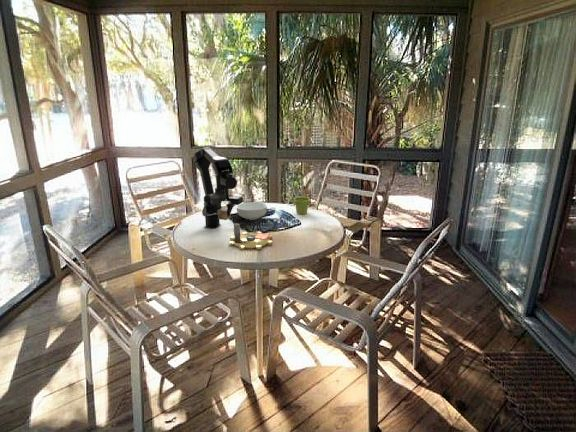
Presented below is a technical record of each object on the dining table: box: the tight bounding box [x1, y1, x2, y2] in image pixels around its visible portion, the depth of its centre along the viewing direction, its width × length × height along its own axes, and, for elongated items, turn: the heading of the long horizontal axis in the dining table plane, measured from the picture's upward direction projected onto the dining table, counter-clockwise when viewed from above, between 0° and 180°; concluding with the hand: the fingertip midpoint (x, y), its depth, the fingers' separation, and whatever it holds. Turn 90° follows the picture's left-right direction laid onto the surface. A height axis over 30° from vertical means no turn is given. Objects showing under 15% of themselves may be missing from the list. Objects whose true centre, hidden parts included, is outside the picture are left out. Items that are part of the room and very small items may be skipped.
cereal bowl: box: [236, 201, 268, 221], centre depth 220 cm, size 17×17×7 cm
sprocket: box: [228, 223, 273, 250], centre depth 184 cm, size 21×21×10 cm
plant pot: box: [293, 196, 311, 215], centre depth 227 cm, size 9×9×9 cm
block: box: [218, 207, 232, 221], centre depth 191 cm, size 4×4×4 cm
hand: (224, 216), depth 191 cm, fingers closed on block, 4 cm apart
